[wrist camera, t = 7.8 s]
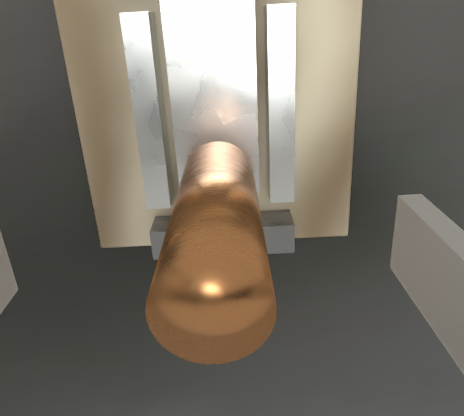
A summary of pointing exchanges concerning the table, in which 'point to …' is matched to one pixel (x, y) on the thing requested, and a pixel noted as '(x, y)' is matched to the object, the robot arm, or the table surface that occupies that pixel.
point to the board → (306, 109)
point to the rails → (156, 133)
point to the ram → (213, 190)
